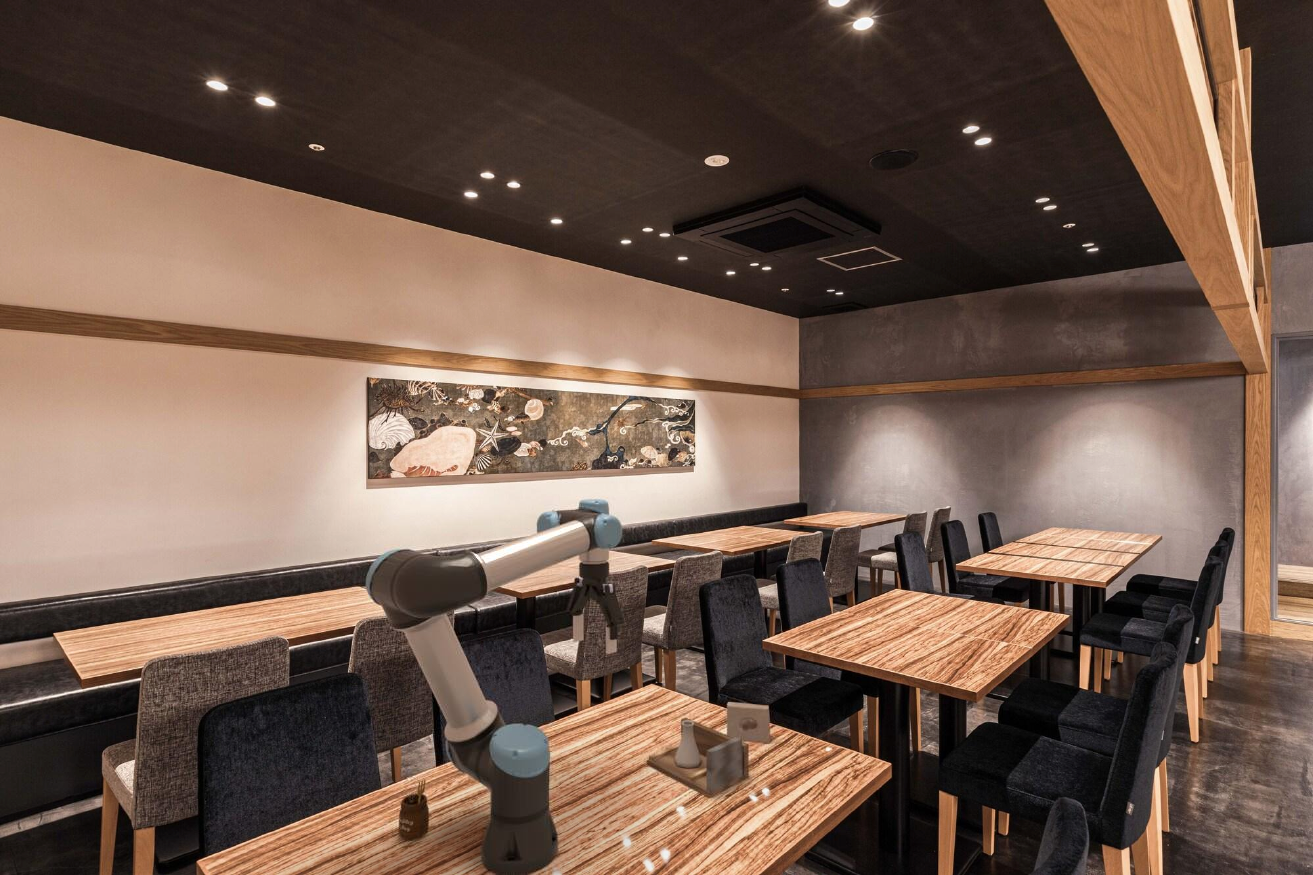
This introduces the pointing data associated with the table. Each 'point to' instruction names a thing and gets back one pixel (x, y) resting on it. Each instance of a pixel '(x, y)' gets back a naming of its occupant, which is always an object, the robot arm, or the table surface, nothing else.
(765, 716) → the fossil
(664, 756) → the brown open box
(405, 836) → the utensil holder
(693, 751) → the flask
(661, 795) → the table surface
